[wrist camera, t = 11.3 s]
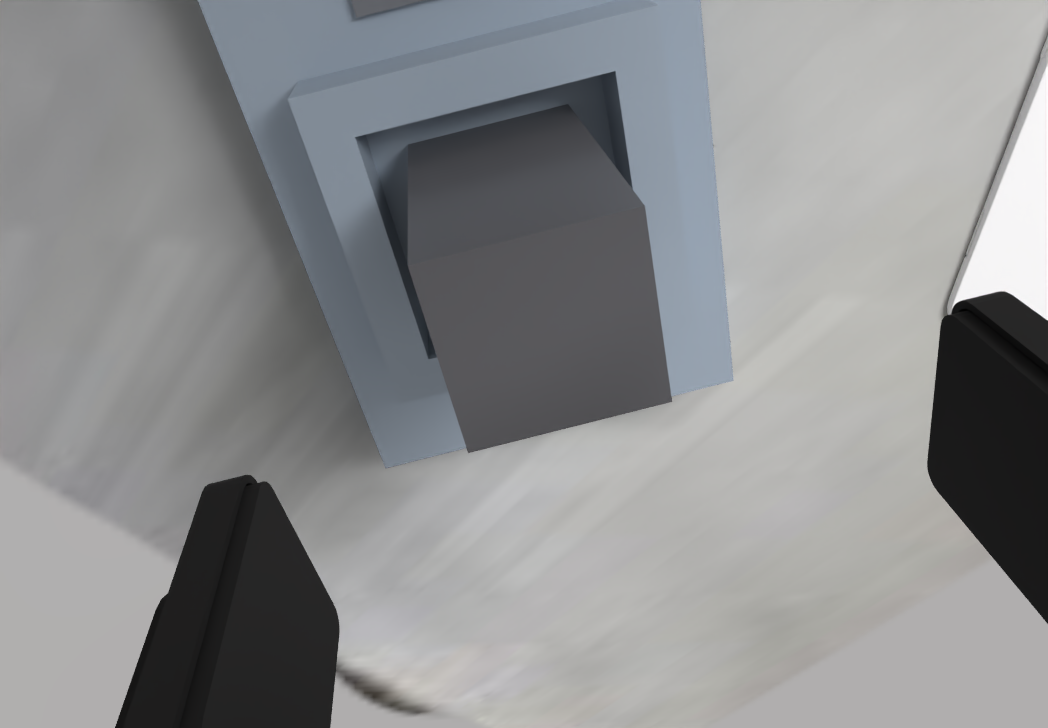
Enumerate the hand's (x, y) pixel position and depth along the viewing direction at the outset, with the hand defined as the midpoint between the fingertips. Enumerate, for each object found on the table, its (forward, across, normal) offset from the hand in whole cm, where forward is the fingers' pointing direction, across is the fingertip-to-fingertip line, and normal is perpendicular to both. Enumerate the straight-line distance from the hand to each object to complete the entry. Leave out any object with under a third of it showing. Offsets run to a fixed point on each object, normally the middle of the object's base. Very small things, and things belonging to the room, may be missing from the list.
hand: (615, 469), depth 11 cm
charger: (+13, 0, +1) cm, 13 cm away
